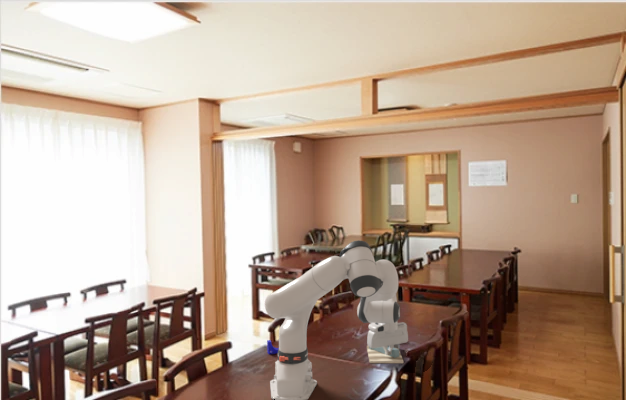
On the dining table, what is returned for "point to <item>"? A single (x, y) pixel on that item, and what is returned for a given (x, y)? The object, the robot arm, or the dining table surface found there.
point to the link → (394, 351)
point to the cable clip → (271, 348)
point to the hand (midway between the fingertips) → (388, 354)
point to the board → (382, 357)
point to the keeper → (397, 346)
